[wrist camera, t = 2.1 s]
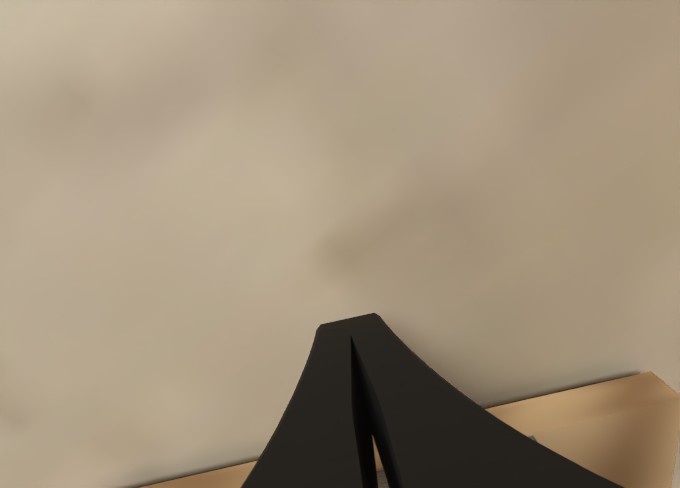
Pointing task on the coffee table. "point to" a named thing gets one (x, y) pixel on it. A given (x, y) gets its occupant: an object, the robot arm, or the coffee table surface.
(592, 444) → the wooden base with peg
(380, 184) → the coffee table surface
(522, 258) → the coffee table surface
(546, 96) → the coffee table surface
